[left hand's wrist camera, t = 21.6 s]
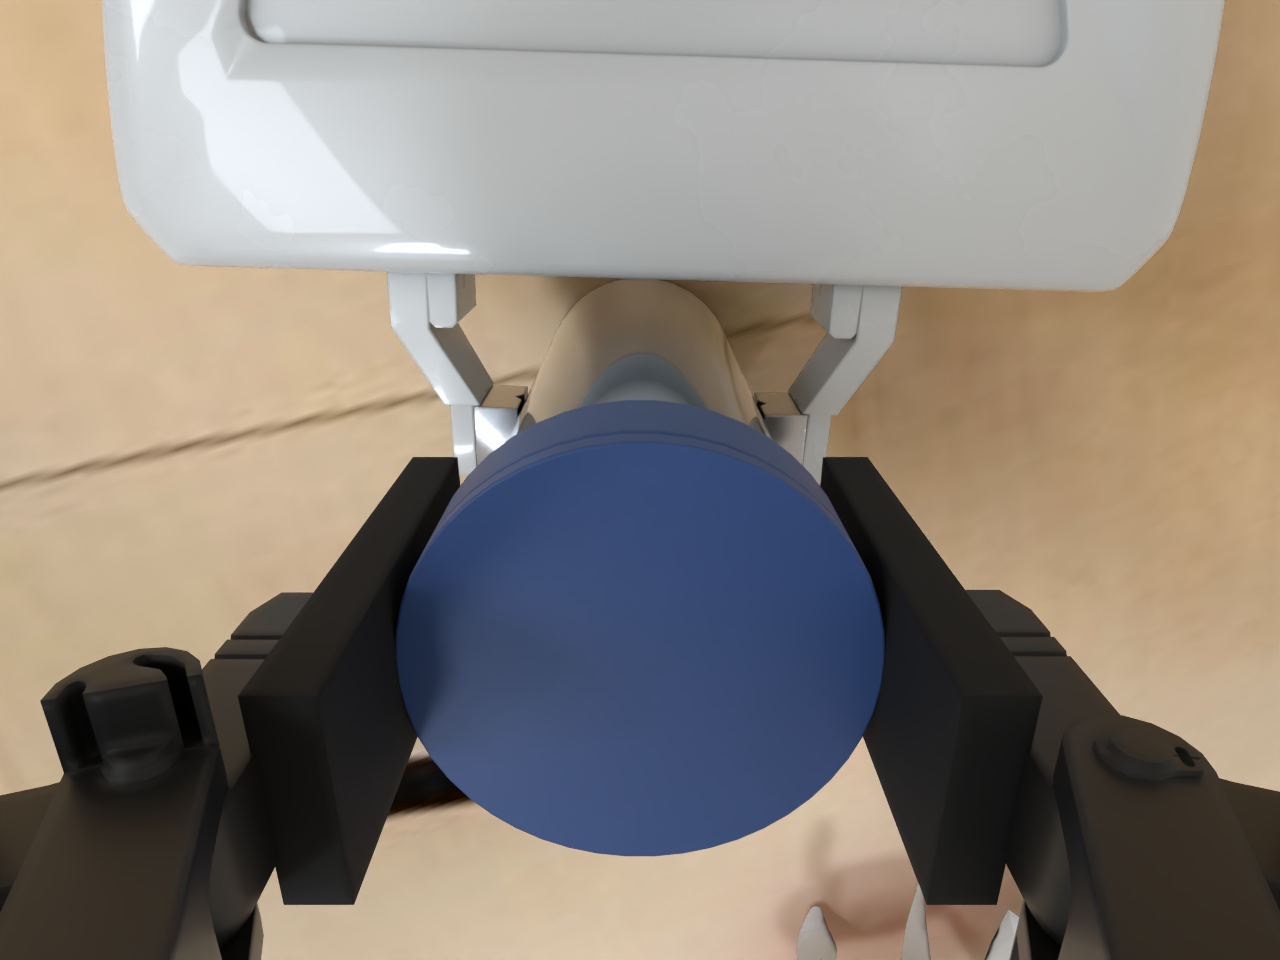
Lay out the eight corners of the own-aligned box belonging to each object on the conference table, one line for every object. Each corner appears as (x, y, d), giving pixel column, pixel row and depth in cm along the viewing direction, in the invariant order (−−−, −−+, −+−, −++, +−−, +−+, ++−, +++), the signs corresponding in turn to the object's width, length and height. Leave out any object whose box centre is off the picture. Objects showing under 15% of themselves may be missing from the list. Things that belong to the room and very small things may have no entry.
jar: (766, 379, 25) (919, 660, 11) (629, 485, 26) (617, 851, 13) (652, 236, 23) (669, 360, 10) (512, 356, 25) (354, 615, 11)
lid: (490, 796, 13) (470, 886, 12) (370, 444, 11) (324, 496, 9) (871, 736, 13) (904, 822, 11) (827, 356, 11) (861, 395, 9)
